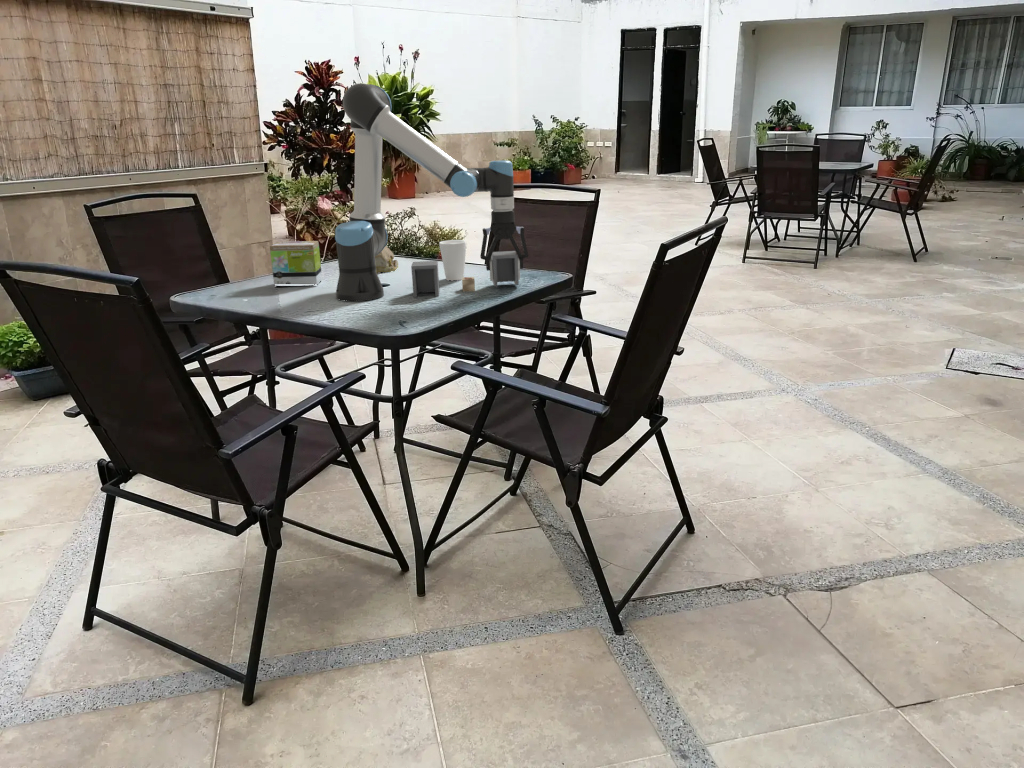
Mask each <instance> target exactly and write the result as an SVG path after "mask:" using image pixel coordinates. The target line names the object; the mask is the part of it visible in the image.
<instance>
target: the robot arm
mask: <svg viewBox="0 0 1024 768" xmlns="http://www.w3.org/2000/svg"><path fill="white" fill-rule="evenodd" d="M342 107H343V110H344V113H345V115H346V116H347V117H348V119H350V129H351V131H352V132H353V133H354V135H355V138H354V189H353V190H354V194H353V195H354V196H353V197H354V198H353V202H354V203H353V208H354V209H353V211H352V212H351V213H350V214H349V219H348V221H346V222H341V223H340V224H338V225H337V226H336V228H335V230H334V240H335V244H336V252H337V254H336V255H337V262H338V264H337V265H338V273H339V274H338V280H337V285H336V289H335V298H336V299H337V300H338V299H340V300H339V301H341V300H345V301H344V302H364V301H363V300H367V301H372V299H373V300H377V299H379V298H383V297H384V295H385V293H384V287H383V285H382V282H381V280H380V278H379V275H378V273H377V272H376V263H375V255H377V254H379V253H380V252H381V251H382V250H383V249H384V247H385V246H386V247H387V243H388V236H389V235H388V232H387V229H386V216H385V215H384V214H383V213H382V212H381V210H382V209H381V208H382V207H381V206H382V204H381V203H382V175H383V173H382V170H383V169H382V168H383V139H384V140H385V141H386V142H388V143H389V144H391V145H392V146H393V147H395V148H396V149H398V151H400V152H401V153H403V154H404V155H405V156H407V157H408V158H409V159H411V160H412V161H413V162H415V163H417V164H418V165H419V166H421V167H422V168H423V169H425V171H427V172H429V173H430V174H431V175H432V176H434V177H435V178H437V179H438V180H439V181H441V182H442V183H444V184H445V185H446V186H447V187H448V188H450V190H451V191H452V193H454V194H455V195H456V196H457V197H462V198H466V197H469V196H470V197H471V196H472V195H473V194H475V193H481V192H483V193H484V192H488V193H489V192H490V210H492V211H491V212H490V214H491V215H490V218H491V219H490V220H491V224H490V225H491V226H490V227H488V228H487V227H486V228H485V227H484V228H482V234H483V237H482V241H481V242H482V243H481V249H480V250H481V251H480V259H481V260H484V261H485V268H486V271H489V280H490V282H492V281H493V273H492V260H491V255H492V253H493V252H495V248H496V245H497V243H498V242H499V240H500V241H501V240H509V241H510V242H511V244H512V246H513V248H514V251H515V252H516V253H517V254H518V279H519V280H521V270H523V269H524V259H526V258H528V257H529V252H528V248H527V243H526V239H525V227H524V226H517V225H516V223H515V222H516V221H515V210H514V209H515V195H514V194H515V193H514V191H515V190H514V185H515V184H514V183H515V182H514V170H513V169H514V168H513V162H512V161H510V160H505V159H504V160H503V159H502V160H491V161H490V162H489V163H488V164H489V165H488V167H465V166H463V165H462V164H460V163H459V162H458V161H457V160H455V159H454V158H453V157H451V156H450V155H449V154H447V153H446V152H444V150H442V149H441V148H440V147H438V146H437V145H435V144H434V143H433V142H431V141H430V140H428V139H427V138H426V137H425V136H423V135H422V134H421V133H419V132H418V131H417V130H415V129H414V128H413V127H411V126H410V125H408V124H407V123H406V122H404V121H403V120H402V119H401V118H399V117H398V116H397V115H395V114H394V113H392V100H391V98H390V96H389V94H388V93H387V92H386V91H385V90H384V89H383V88H381V86H378V85H376V84H369V83H361V82H360V83H355V84H353V85H351V86H350V87H348V88H347V90H346V91H345V93H344V95H343V97H342ZM516 231H517V234H518V235H519V238H520V242H521V246H522V250H523V253H521V250H520V249H519V247H518V245H517V243H516V241H515V239H514V236H513V235H514V234H515V232H516ZM490 232H491V233H492V234H493V235H494V237H493V240H492V242H491V244H490V247H489V249H488V252H487V254H486V249H487V242H488V236H489V235H490ZM346 300H347V301H346Z"/></svg>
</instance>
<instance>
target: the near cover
mask: <svg viewBox="0 0 1024 768" xmlns="http://www.w3.org/2000/svg"><path fill="white" fill-rule="evenodd" d="M438 265H439V261H438V260H428V261H427V260H426V261H412V262H411V268H410V269H411V280H412V293H413V298H418V295H417V294H418V292H422V293H434V294H435V297H440V281H439V280H440V279H439V266H438Z"/></svg>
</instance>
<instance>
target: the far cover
mask: <svg viewBox="0 0 1024 768" xmlns="http://www.w3.org/2000/svg"><path fill="white" fill-rule="evenodd" d="M518 259H519V256H518V254H517V252H516V250H506V251H493V253H492V255H491V258H490V260H492V273H493V281H491V282H492V284H493V286H494V287H498V283H506V282H513V283H514V285H515V286H520V284H519V282H520V281H519V279H518Z"/></svg>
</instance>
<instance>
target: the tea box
mask: <svg viewBox="0 0 1024 768" xmlns="http://www.w3.org/2000/svg"><path fill="white" fill-rule="evenodd" d="M269 252H270V253H269V254H270V262H271V270H272V279H273V285H274V284H314V285H315V284H318V283H319V282H320V281H321V280H322V281H323V274H322V264H321V254H320V244H319V241H318V240H309V241H308V240H307V241H306V240H304V241H302V240H301V241H299V240H298V241H297V240H295V241H275V243H273V244H272V245H269ZM322 281H321V282H322ZM321 282H320V283H321ZM320 283H319V284H320Z"/></svg>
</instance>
